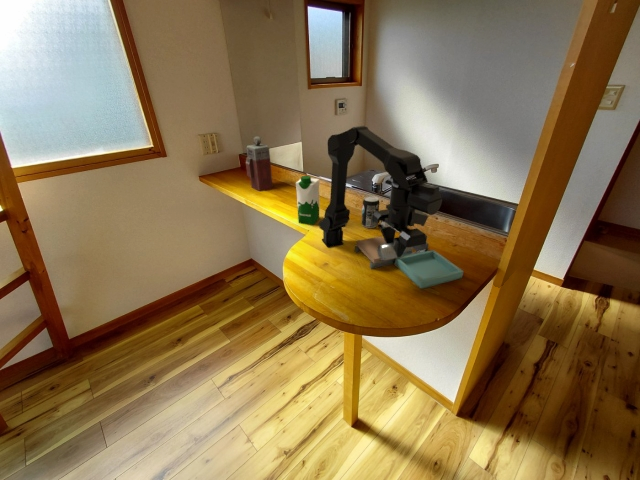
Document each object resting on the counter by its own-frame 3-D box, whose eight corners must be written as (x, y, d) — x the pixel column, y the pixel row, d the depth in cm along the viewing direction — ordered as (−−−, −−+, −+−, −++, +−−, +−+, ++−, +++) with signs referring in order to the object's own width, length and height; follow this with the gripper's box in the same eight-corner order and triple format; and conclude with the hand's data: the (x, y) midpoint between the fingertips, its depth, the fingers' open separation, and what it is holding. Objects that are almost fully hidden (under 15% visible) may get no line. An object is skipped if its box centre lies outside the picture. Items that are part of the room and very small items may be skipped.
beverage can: (365, 221, 130) (366, 194, 124) (379, 224, 127) (382, 197, 121) (358, 226, 124) (360, 199, 119) (373, 230, 121) (376, 202, 116)
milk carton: (295, 223, 128) (293, 178, 118) (303, 215, 136) (301, 171, 126) (315, 226, 125) (314, 179, 116) (321, 217, 133) (321, 173, 123)
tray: (421, 289, 88) (422, 282, 86) (394, 264, 99) (395, 258, 98) (461, 278, 92) (463, 271, 91) (432, 255, 104) (433, 249, 102)
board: (373, 267, 96) (374, 259, 95) (355, 248, 107) (356, 241, 106) (400, 261, 99) (401, 253, 98) (380, 243, 110) (380, 236, 109)
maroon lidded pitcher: (247, 188, 170) (240, 137, 156) (264, 184, 176) (259, 134, 163) (255, 192, 164) (249, 139, 150) (272, 188, 170) (268, 136, 157)
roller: (384, 263, 85) (386, 249, 83) (376, 255, 89) (378, 242, 87) (411, 257, 88) (413, 244, 86) (402, 249, 91) (404, 237, 89)
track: (371, 269, 97) (372, 255, 95) (354, 251, 107) (355, 239, 105) (426, 256, 103) (428, 243, 101) (406, 240, 113) (407, 229, 111)
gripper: (449, 211, 75) (438, 263, 82) (405, 188, 90) (400, 234, 98) (411, 217, 72) (403, 271, 79) (373, 193, 87) (369, 240, 94)
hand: (394, 252), depth 88 cm, fingers closed on roller, 4 cm apart
